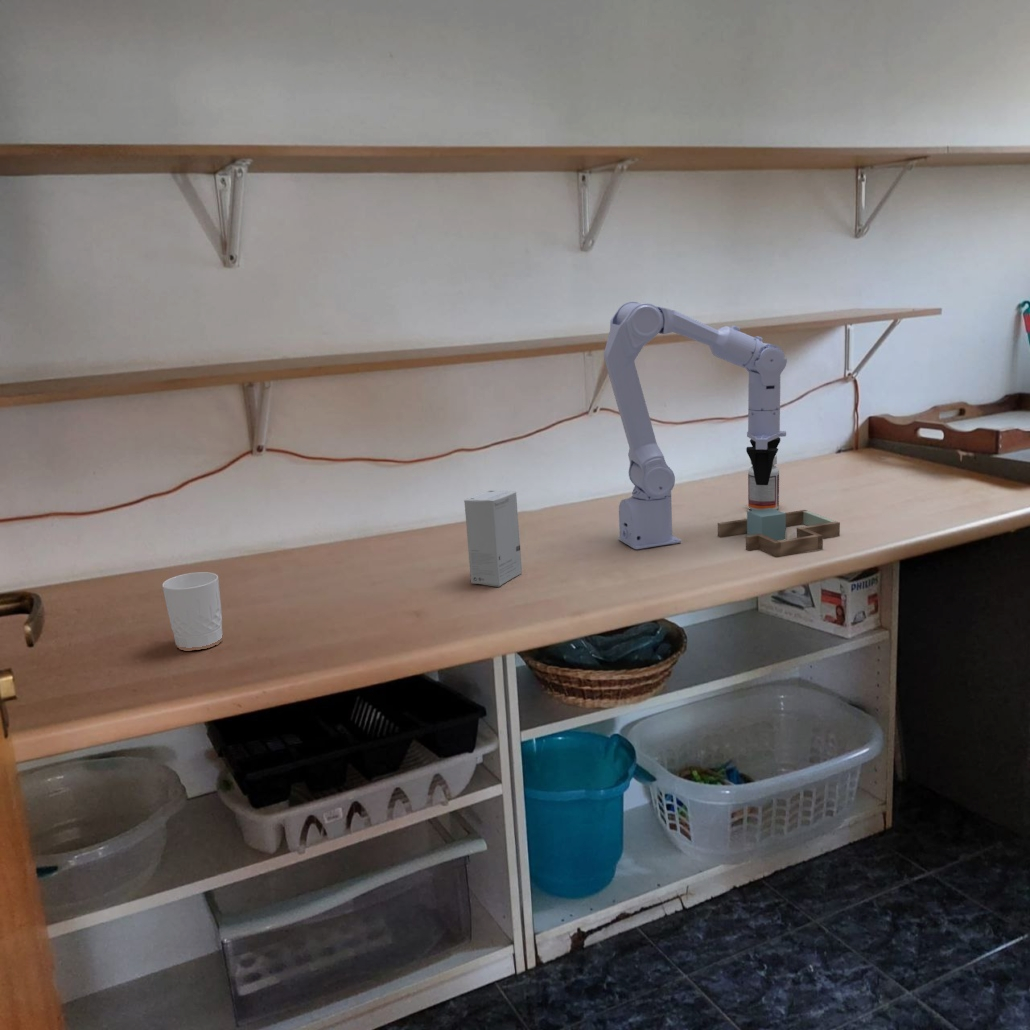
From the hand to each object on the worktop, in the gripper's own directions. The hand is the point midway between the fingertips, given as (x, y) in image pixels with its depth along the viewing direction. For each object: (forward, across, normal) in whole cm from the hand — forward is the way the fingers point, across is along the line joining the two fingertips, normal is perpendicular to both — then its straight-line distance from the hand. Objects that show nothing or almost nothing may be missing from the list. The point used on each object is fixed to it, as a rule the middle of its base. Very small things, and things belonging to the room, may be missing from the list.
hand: (763, 480), depth 183 cm
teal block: (+10, -6, -1) cm, 11 cm away
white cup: (+11, -69, +78) cm, 105 cm away
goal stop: (+10, +1, -10) cm, 14 cm away
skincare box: (+10, -34, +42) cm, 56 cm away
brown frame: (+10, -6, -5) cm, 12 cm away
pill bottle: (+10, +16, +1) cm, 19 cm away
